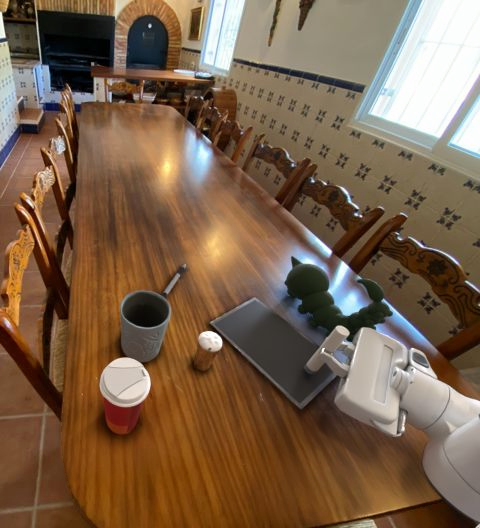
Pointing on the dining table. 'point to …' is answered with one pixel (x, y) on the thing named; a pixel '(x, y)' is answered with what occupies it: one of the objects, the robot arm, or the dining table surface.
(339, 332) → the white cylindrical rod
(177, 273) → the pen
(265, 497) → the dining table surface
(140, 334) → the grey embossed cup
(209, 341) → the milkshake
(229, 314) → the tablet
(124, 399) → the paper cup
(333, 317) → the toy figurine
